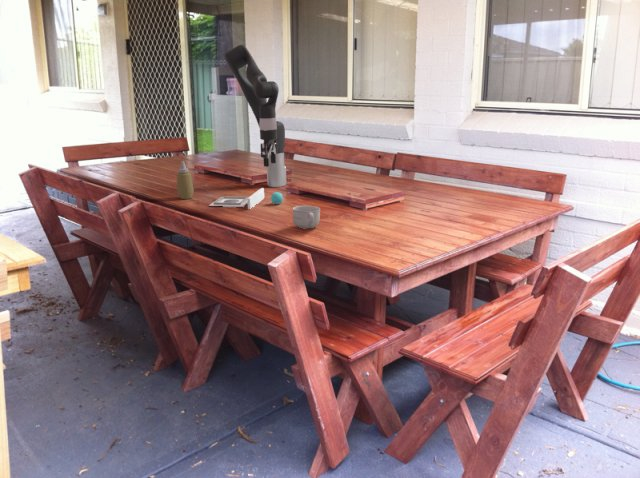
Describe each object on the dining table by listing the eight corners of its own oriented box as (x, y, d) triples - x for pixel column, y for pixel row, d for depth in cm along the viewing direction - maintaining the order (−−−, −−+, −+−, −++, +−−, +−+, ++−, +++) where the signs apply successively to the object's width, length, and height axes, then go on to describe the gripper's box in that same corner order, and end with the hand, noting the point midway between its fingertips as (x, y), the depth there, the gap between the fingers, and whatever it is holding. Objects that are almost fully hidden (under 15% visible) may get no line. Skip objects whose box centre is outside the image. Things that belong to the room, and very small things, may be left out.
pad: (221, 198, 288) (221, 195, 288) (253, 199, 285) (253, 196, 285) (209, 206, 273) (208, 203, 273) (242, 207, 270) (242, 204, 270)
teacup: (292, 224, 241) (291, 205, 239) (319, 223, 242) (319, 203, 239) (294, 234, 228) (293, 213, 225) (322, 232, 229) (322, 212, 226)
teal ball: (277, 202, 279) (276, 190, 277) (285, 203, 275) (285, 191, 274) (268, 204, 275) (268, 192, 273) (277, 206, 271) (276, 194, 270)
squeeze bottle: (197, 196, 294) (194, 160, 289) (189, 200, 287) (185, 162, 281) (183, 195, 296) (179, 159, 291) (174, 199, 289) (170, 162, 284)
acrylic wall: (261, 198, 287) (261, 187, 286) (264, 198, 287) (263, 187, 285) (247, 209, 267) (247, 198, 265) (250, 209, 266) (249, 198, 265)
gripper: (266, 126, 272) (268, 162, 277) (254, 130, 259) (256, 167, 264) (281, 126, 270) (283, 162, 275) (270, 130, 257) (272, 167, 262)
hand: (270, 164), depth 269 cm, fingers open, 8 cm apart
